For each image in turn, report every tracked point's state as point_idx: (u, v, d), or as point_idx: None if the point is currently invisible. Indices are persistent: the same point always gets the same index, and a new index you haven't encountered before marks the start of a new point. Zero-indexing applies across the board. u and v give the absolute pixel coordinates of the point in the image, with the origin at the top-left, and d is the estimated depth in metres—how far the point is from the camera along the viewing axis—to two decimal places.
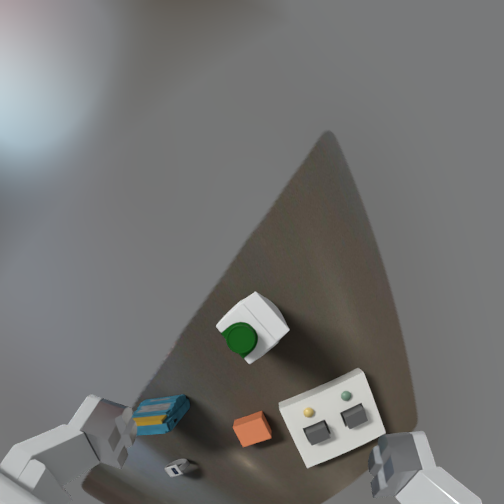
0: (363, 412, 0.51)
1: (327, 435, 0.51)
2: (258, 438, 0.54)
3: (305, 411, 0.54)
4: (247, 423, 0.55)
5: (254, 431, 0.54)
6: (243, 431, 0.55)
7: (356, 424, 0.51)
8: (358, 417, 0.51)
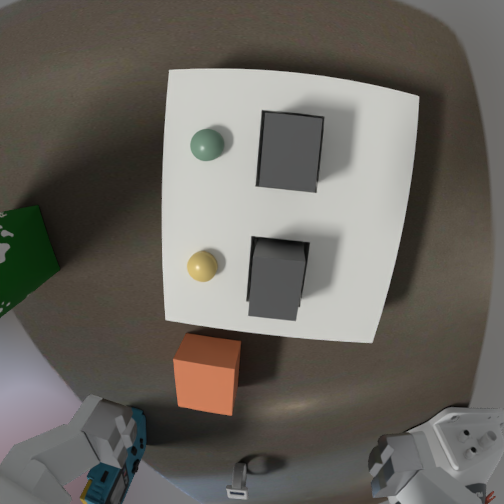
0: (278, 118, 0.15)
1: (289, 266, 0.18)
2: (223, 387, 0.25)
3: (192, 273, 0.21)
4: (178, 384, 0.25)
5: (202, 385, 0.25)
6: (194, 398, 0.26)
7: (310, 161, 0.16)
8: (287, 142, 0.15)
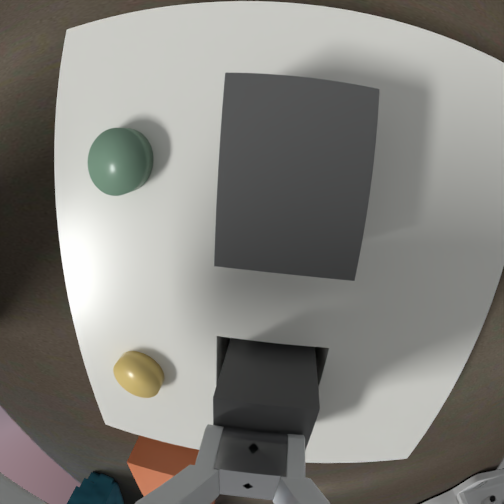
0: (262, 86, 0.05)
1: (287, 415, 0.08)
2: None
3: (124, 384, 0.11)
4: (140, 483, 0.15)
5: None
6: None
7: (348, 203, 0.06)
8: (286, 152, 0.06)
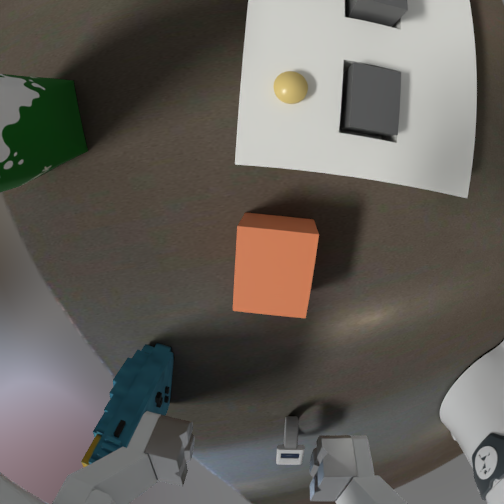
0: None
1: (387, 75, 0.15)
2: (300, 268, 0.20)
3: (280, 93, 0.16)
4: (238, 270, 0.21)
5: (272, 266, 0.21)
6: (258, 293, 0.21)
7: None
8: None
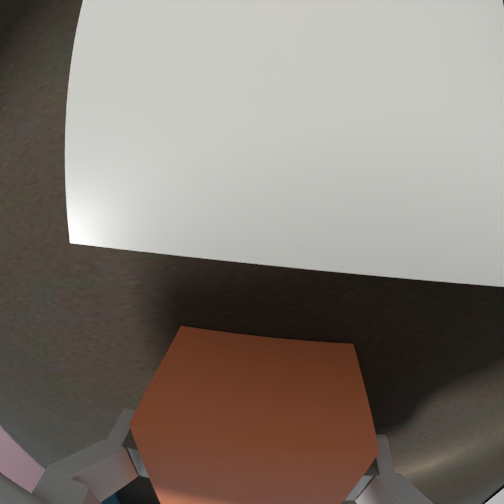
0: None
1: None
2: (314, 498, 0.06)
3: None
4: (160, 486, 0.06)
5: (242, 495, 0.06)
6: None
7: None
8: None
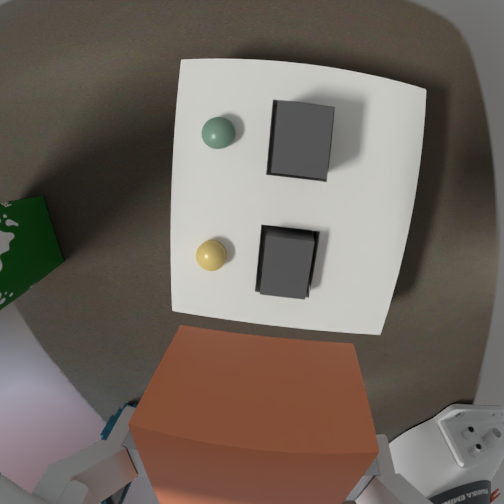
0: (291, 106, 0.15)
1: (299, 246, 0.19)
2: (314, 498, 0.06)
3: (201, 262, 0.21)
4: (160, 486, 0.06)
5: (241, 495, 0.06)
6: None
7: (322, 148, 0.16)
8: (299, 130, 0.15)
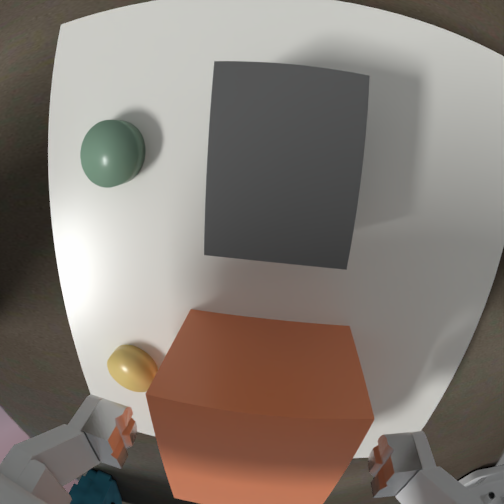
0: (251, 74, 0.05)
1: None
2: (315, 470, 0.07)
3: (118, 378, 0.11)
4: (170, 461, 0.07)
5: (247, 467, 0.07)
6: (219, 491, 0.08)
7: (339, 190, 0.06)
8: (275, 139, 0.06)
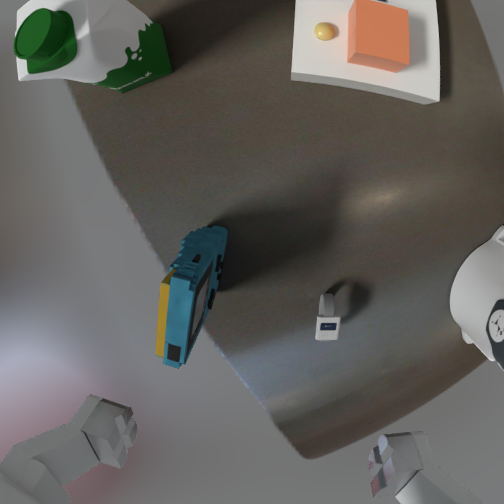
0: None
1: None
2: (400, 27, 0.20)
3: (318, 33, 0.24)
4: (358, 23, 0.21)
5: (382, 23, 0.20)
6: (373, 40, 0.21)
7: None
8: None
